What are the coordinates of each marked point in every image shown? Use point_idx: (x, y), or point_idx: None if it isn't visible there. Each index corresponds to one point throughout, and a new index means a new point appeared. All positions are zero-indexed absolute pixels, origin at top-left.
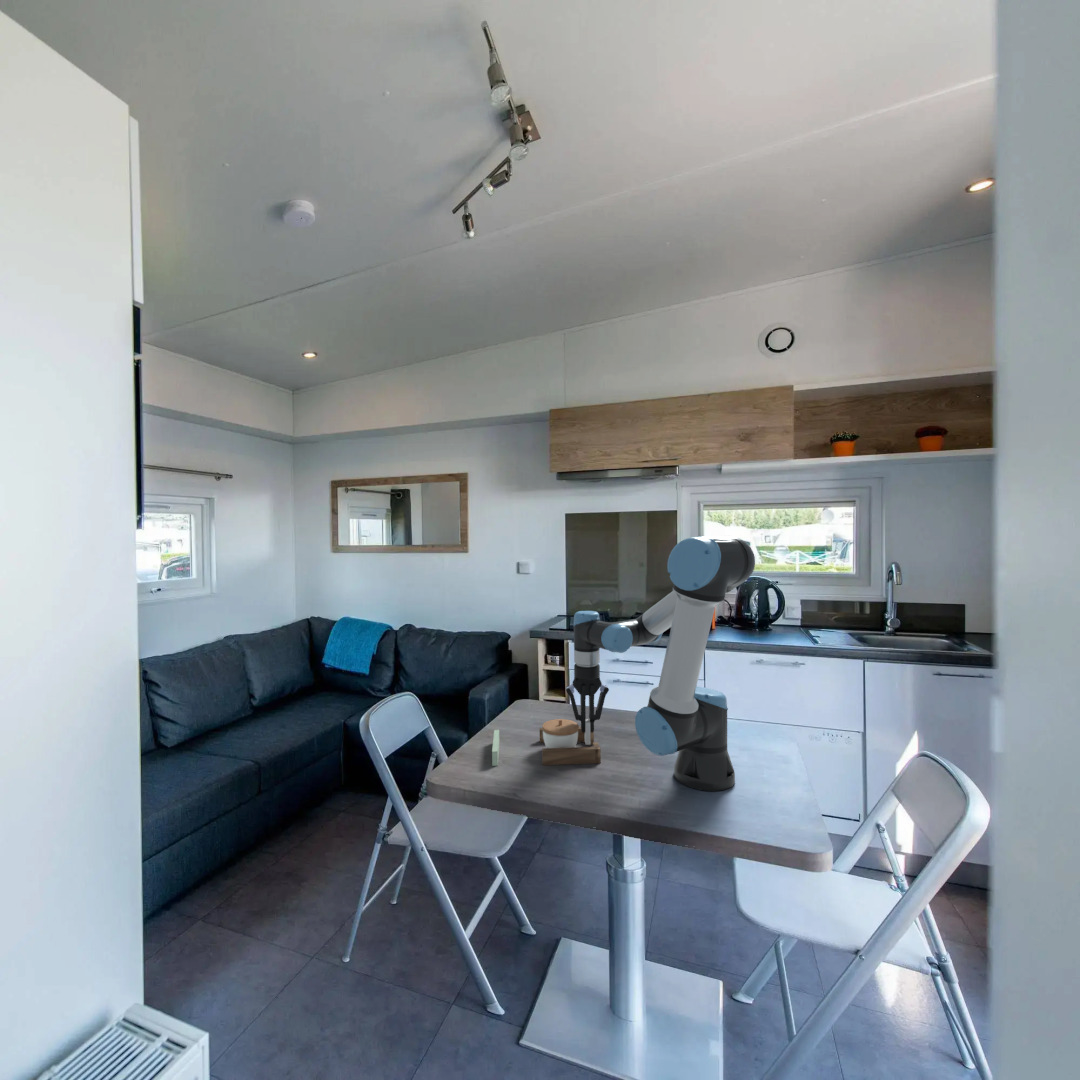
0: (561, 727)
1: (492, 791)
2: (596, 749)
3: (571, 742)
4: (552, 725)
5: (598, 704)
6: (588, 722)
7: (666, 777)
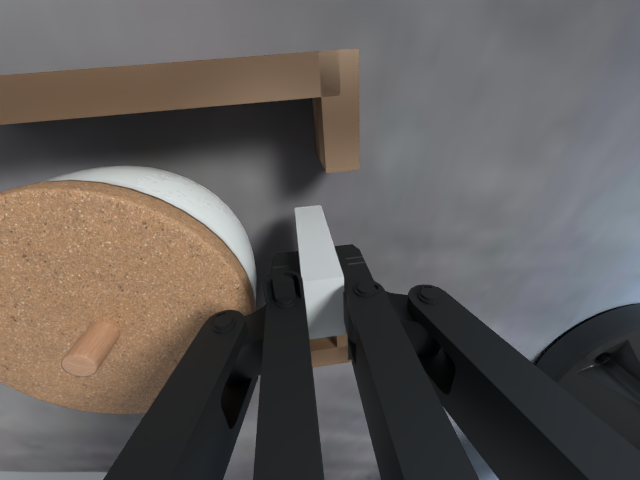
0: (130, 371)
1: (41, 470)
2: (343, 360)
3: None
4: (41, 347)
5: (507, 453)
6: (331, 333)
7: None
